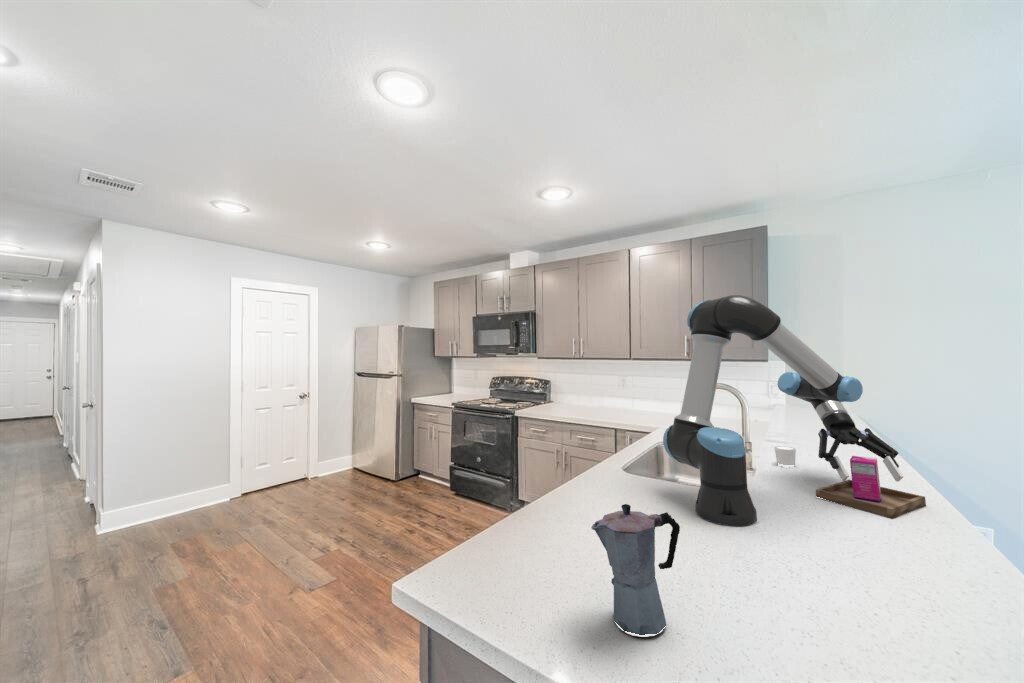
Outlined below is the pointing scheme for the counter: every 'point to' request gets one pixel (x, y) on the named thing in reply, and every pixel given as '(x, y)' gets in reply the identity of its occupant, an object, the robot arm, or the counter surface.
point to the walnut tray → (888, 507)
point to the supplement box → (865, 478)
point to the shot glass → (785, 455)
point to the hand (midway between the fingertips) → (872, 478)
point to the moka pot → (636, 566)
